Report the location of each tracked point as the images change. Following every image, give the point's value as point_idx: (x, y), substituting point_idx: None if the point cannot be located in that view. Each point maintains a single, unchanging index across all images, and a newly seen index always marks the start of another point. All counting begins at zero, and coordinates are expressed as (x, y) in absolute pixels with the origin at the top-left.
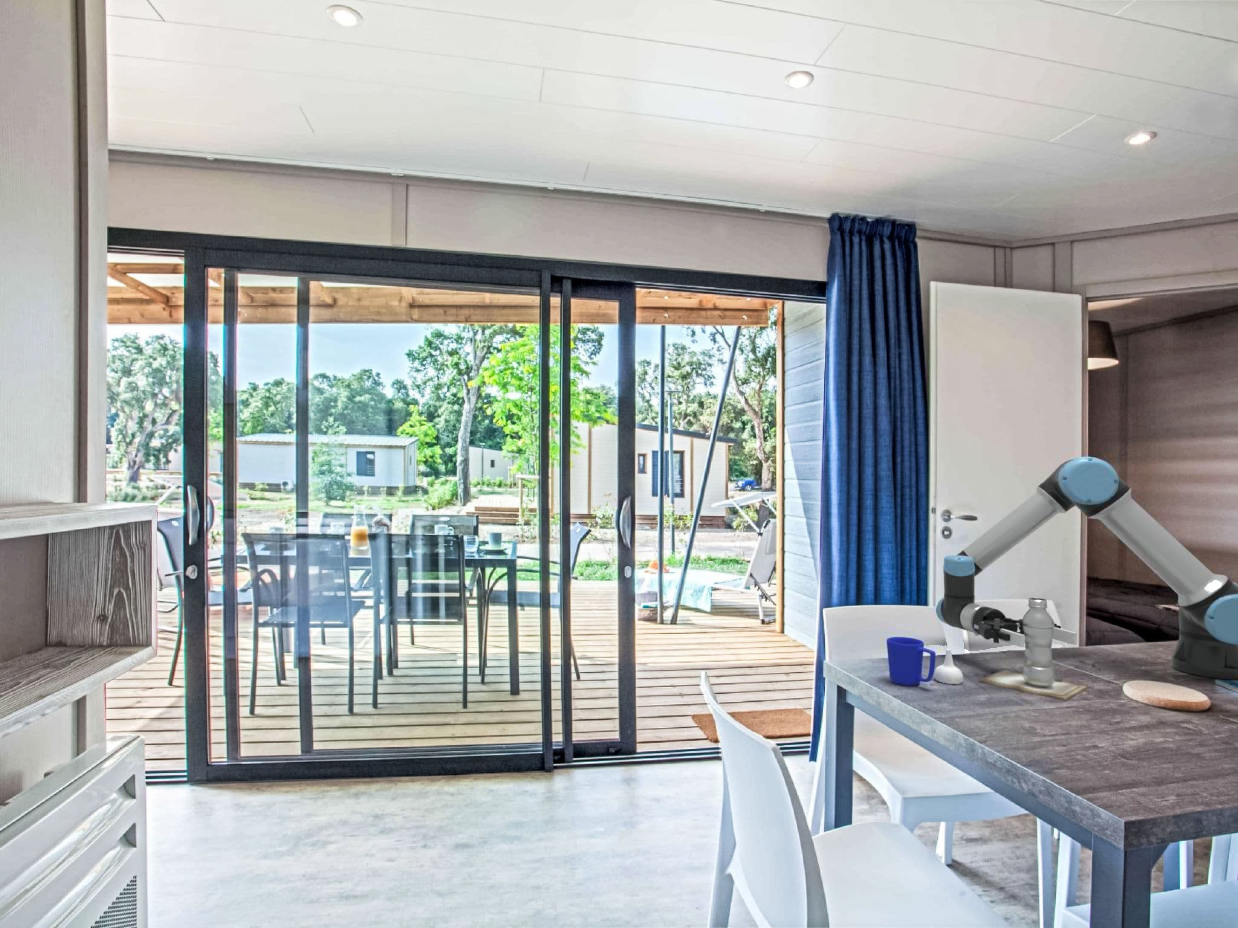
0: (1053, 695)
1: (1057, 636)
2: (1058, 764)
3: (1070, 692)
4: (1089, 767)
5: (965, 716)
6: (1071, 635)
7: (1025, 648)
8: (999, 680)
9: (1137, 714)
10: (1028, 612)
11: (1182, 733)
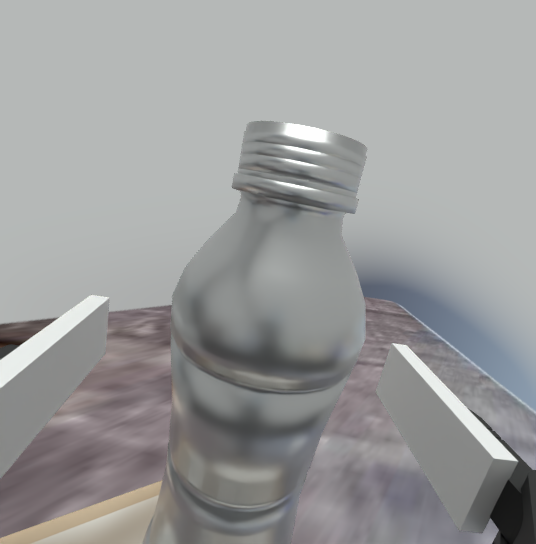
0: None
1: (42, 408)
2: (407, 334)
3: (155, 495)
4: (380, 325)
5: (521, 445)
6: (101, 319)
7: (298, 498)
8: None
9: (162, 367)
10: (349, 259)
11: None
